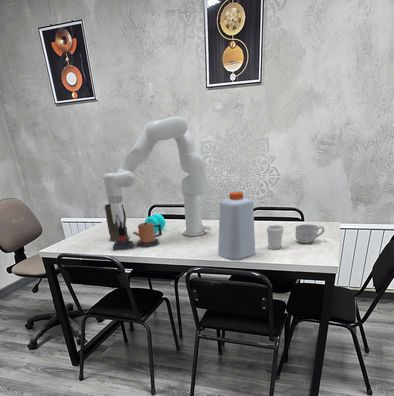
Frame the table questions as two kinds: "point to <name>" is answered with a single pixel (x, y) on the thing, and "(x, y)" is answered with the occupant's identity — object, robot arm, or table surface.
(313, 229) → the teacup
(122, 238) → the button
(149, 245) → the base
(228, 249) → the plastic bottle
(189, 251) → the table surface
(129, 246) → the switch box
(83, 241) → the table surface
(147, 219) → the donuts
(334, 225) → the table surface
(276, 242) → the dixie cup
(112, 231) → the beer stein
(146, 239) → the kettle
